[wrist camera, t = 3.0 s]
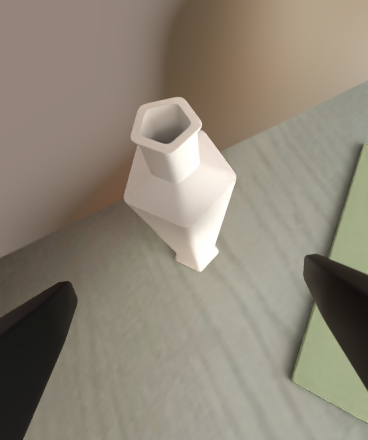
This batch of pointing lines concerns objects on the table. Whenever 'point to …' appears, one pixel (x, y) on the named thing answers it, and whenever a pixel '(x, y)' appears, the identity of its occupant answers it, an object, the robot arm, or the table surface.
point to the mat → (317, 328)
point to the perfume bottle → (179, 180)
